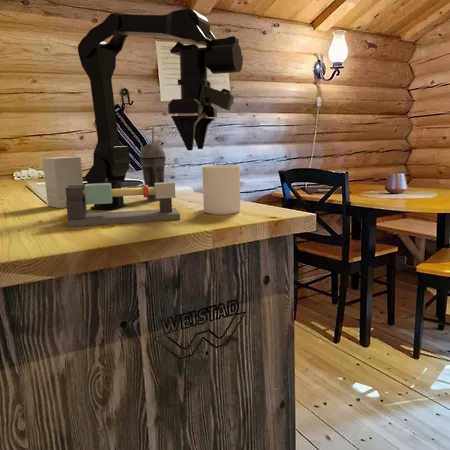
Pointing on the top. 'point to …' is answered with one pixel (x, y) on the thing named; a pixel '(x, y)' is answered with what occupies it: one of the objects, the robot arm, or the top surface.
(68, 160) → the supplement box
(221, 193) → the mug
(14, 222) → the top surface
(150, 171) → the beverage cup
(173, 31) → the robot arm
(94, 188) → the sleeve
